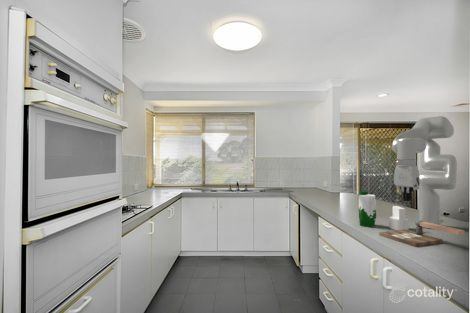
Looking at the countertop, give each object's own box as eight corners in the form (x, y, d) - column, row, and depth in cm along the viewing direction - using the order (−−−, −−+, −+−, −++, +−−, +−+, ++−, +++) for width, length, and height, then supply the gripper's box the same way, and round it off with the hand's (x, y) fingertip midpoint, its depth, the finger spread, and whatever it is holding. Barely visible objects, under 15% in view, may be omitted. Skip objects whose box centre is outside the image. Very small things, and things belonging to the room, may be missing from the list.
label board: (404, 232, 131) (404, 221, 131) (442, 242, 114) (442, 230, 114) (379, 235, 125) (379, 224, 125) (415, 246, 108) (415, 233, 108)
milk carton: (359, 222, 151) (359, 190, 151) (376, 224, 146) (376, 191, 147) (358, 225, 143) (357, 191, 144) (375, 228, 139) (375, 192, 139)
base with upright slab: (411, 231, 133) (411, 209, 133) (393, 230, 134) (393, 208, 135) (403, 227, 141) (403, 206, 142) (386, 226, 143) (386, 205, 144)
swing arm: (413, 224, 123) (413, 220, 123) (418, 223, 124) (418, 220, 124) (458, 235, 105) (458, 231, 105) (464, 234, 106) (464, 230, 106)
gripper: (387, 163, 126) (387, 198, 126) (416, 163, 112) (417, 203, 112) (397, 162, 128) (398, 198, 128) (428, 163, 114) (428, 202, 114)
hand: (407, 200), depth 120 cm, fingers closed
